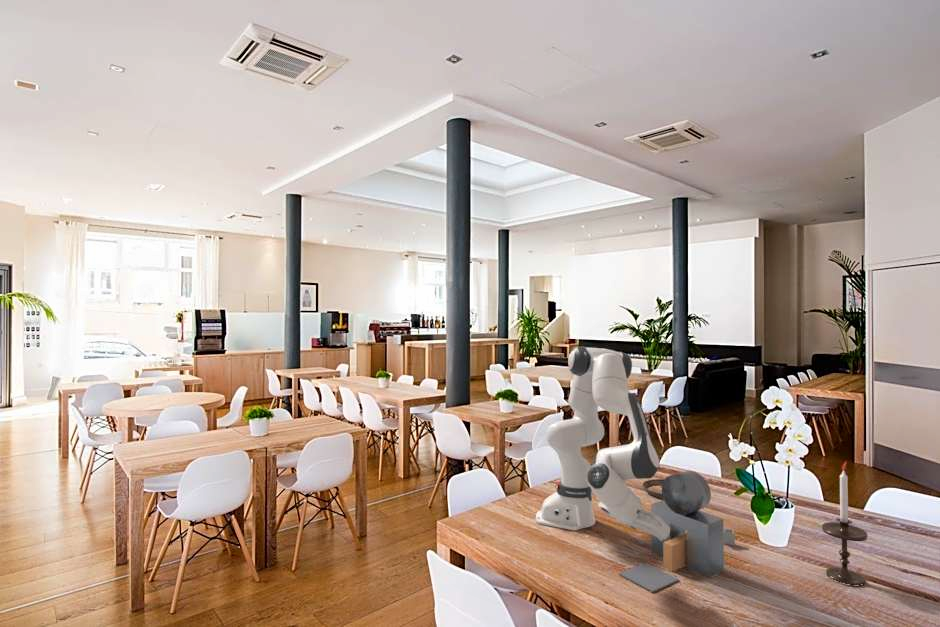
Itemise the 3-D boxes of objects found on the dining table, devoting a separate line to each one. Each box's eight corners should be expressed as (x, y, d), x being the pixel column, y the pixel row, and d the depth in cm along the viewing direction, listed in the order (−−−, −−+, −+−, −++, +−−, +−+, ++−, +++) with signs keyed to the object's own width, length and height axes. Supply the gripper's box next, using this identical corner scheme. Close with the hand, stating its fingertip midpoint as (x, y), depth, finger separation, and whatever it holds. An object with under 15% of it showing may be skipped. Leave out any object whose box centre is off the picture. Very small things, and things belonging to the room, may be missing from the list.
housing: (708, 578, 151) (707, 484, 151) (651, 552, 168) (651, 467, 168) (723, 571, 156) (722, 479, 156) (667, 546, 172) (666, 463, 173)
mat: (652, 593, 144) (652, 591, 144) (619, 575, 154) (619, 573, 154) (678, 580, 150) (678, 579, 150) (645, 564, 160) (645, 562, 160)
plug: (671, 572, 155) (671, 545, 156) (663, 568, 158) (663, 542, 158) (695, 561, 162) (695, 536, 162) (687, 557, 164) (686, 533, 165)
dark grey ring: (636, 495, 222) (636, 488, 222) (649, 482, 239) (649, 475, 239) (686, 505, 210) (686, 497, 210) (696, 491, 227) (696, 483, 227)
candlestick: (877, 584, 147) (876, 463, 147) (849, 590, 144) (848, 467, 144) (840, 567, 158) (839, 454, 158) (813, 572, 155) (812, 457, 155)
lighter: (734, 543, 174) (733, 520, 174) (735, 545, 173) (734, 522, 173) (711, 540, 177) (711, 517, 177) (712, 543, 175) (711, 519, 175)
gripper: (660, 508, 139) (683, 535, 144) (604, 487, 156) (625, 512, 162) (650, 528, 137) (673, 555, 142) (593, 504, 154) (616, 529, 159)
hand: (647, 532), depth 152 cm, fingers open, 8 cm apart
